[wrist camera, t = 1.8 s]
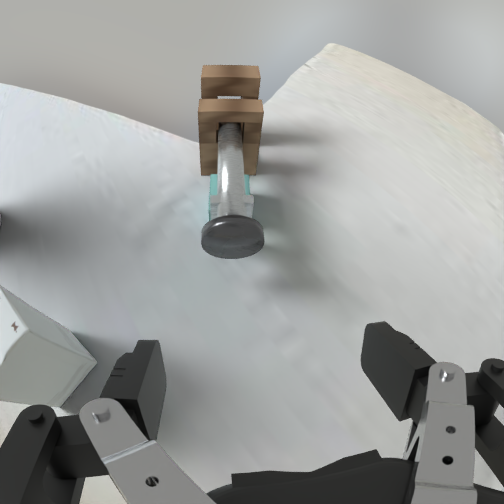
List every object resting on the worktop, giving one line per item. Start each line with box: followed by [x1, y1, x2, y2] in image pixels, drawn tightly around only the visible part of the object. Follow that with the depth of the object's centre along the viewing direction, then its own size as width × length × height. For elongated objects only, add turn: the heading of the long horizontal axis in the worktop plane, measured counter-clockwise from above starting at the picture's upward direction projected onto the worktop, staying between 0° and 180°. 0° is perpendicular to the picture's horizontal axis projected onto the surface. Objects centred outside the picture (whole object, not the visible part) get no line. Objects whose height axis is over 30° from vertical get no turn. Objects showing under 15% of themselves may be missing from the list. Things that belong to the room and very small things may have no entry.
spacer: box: [209, 174, 250, 221], centre depth 40 cm, size 5×6×4 cm
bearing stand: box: [198, 65, 264, 175], centre depth 42 cm, size 8×10×13 cm
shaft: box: [201, 122, 264, 259], centre depth 37 cm, size 6×21×10 cm, turn 3°
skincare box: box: [0, 285, 97, 407], centre depth 23 cm, size 8×6×15 cm
